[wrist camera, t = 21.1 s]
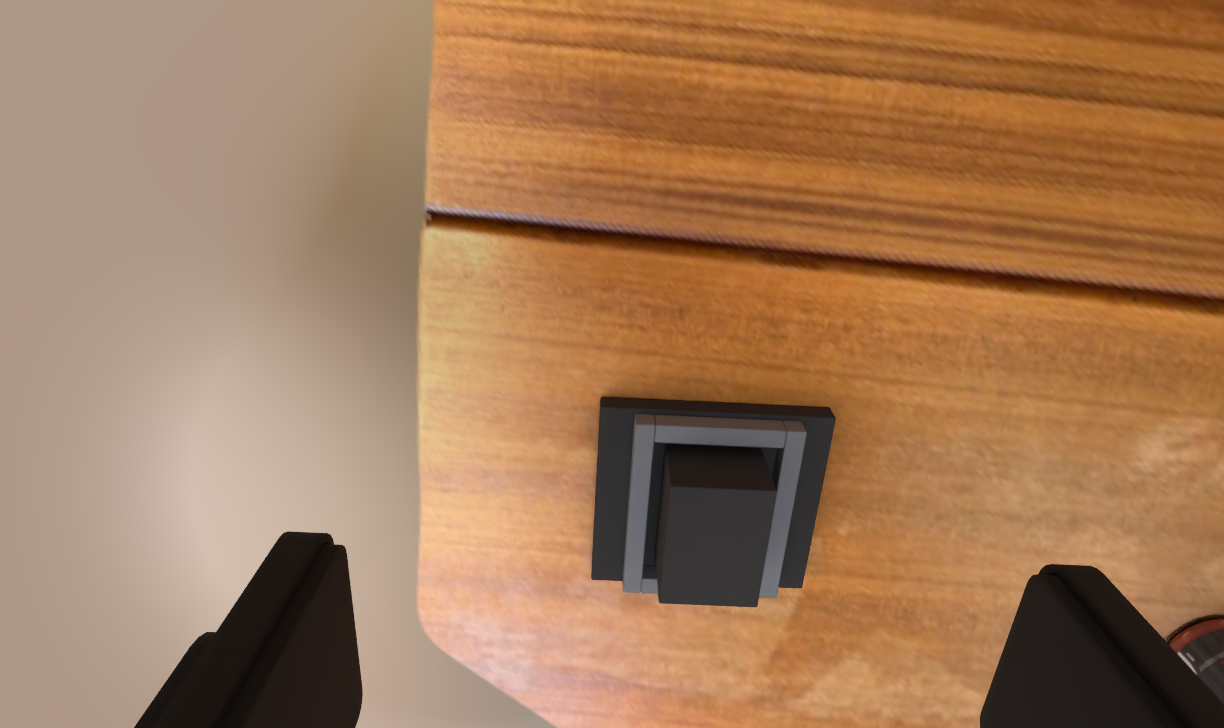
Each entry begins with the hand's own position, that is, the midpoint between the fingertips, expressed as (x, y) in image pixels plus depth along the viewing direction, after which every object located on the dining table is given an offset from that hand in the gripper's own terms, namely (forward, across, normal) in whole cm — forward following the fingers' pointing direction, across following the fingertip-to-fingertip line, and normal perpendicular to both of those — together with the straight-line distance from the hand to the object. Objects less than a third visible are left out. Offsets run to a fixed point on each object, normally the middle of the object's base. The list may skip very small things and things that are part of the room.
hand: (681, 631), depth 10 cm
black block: (+25, -5, +15) cm, 30 cm away
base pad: (+26, -5, +15) cm, 31 cm away
